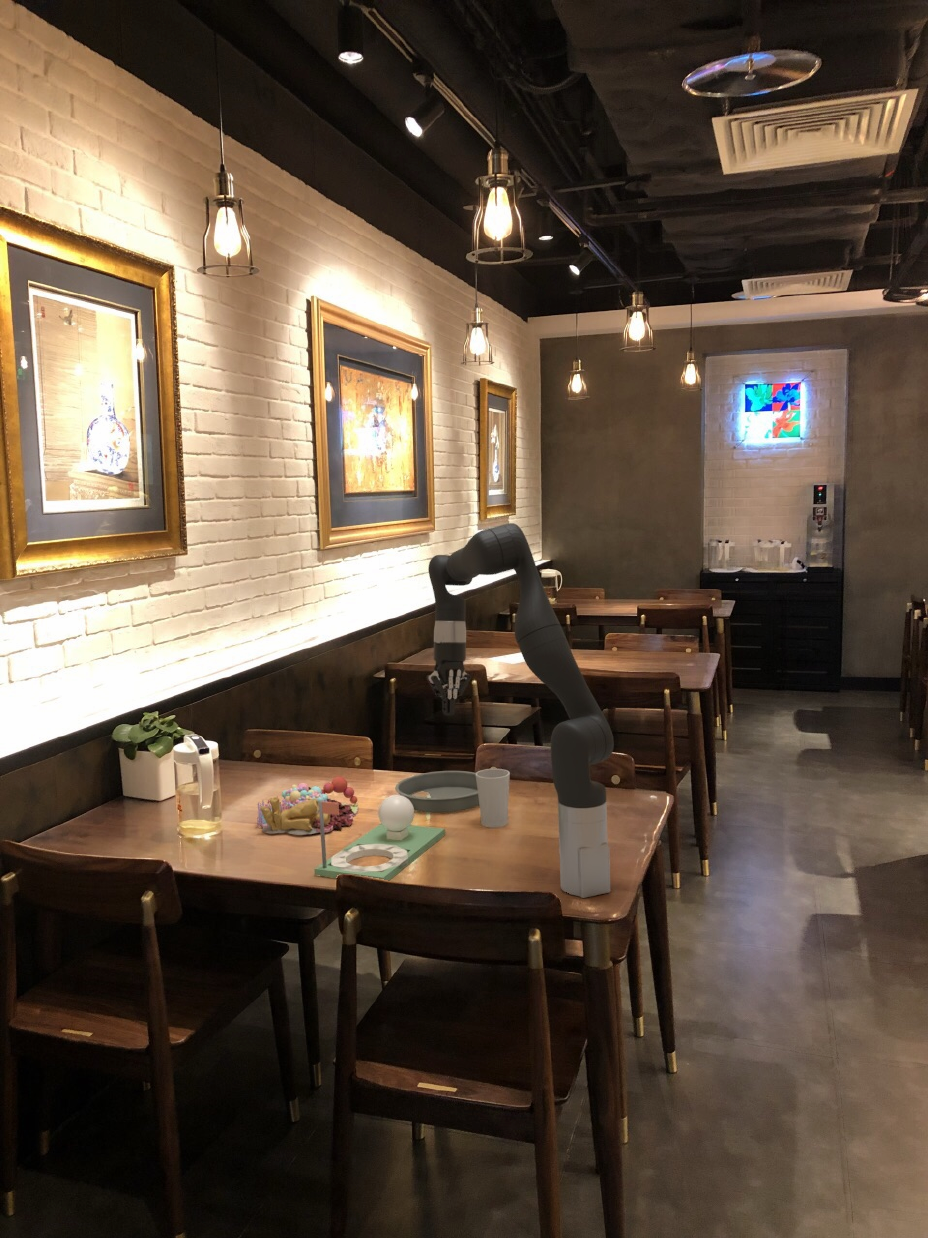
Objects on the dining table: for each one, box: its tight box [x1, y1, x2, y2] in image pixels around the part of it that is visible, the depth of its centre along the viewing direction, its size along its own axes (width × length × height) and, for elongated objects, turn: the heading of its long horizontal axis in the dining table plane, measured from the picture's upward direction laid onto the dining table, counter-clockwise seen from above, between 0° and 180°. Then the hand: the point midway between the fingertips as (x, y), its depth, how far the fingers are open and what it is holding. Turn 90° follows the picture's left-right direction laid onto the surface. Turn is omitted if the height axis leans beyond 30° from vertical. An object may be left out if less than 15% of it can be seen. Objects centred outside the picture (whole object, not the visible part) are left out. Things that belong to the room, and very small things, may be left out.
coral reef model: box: [256, 776, 359, 836], centre depth 230 cm, size 25×24×9 cm
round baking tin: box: [394, 770, 480, 814], centre depth 242 cm, size 25×25×4 cm
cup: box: [475, 768, 511, 829], centre depth 222 cm, size 8×8×12 cm
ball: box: [377, 794, 415, 831], centre depth 211 cm, size 8×8×8 cm
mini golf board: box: [313, 801, 446, 881], centre depth 204 cm, size 30×16×16 cm, turn 157°
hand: (448, 715), depth 221 cm, fingers closed
